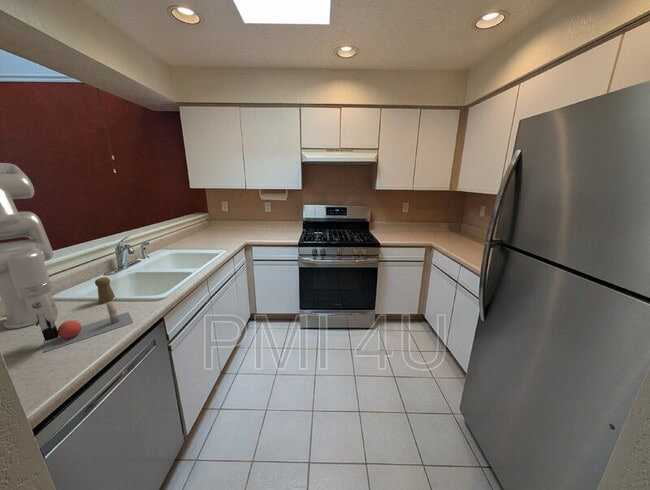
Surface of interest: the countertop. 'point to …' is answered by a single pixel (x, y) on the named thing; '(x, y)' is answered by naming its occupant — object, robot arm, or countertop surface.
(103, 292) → the cork
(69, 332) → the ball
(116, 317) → the pin
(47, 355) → the countertop surface
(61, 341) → the plate
